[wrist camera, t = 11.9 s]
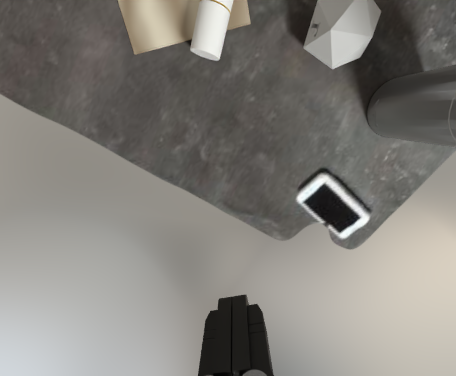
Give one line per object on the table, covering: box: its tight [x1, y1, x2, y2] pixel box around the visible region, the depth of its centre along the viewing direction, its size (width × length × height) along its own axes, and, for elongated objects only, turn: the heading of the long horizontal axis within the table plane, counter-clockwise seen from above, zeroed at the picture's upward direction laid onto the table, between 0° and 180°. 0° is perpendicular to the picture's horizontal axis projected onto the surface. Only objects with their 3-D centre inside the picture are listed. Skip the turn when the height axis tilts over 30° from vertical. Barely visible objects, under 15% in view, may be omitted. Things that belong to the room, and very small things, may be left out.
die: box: [303, 0, 381, 69], centre depth 29 cm, size 8×9×10 cm
